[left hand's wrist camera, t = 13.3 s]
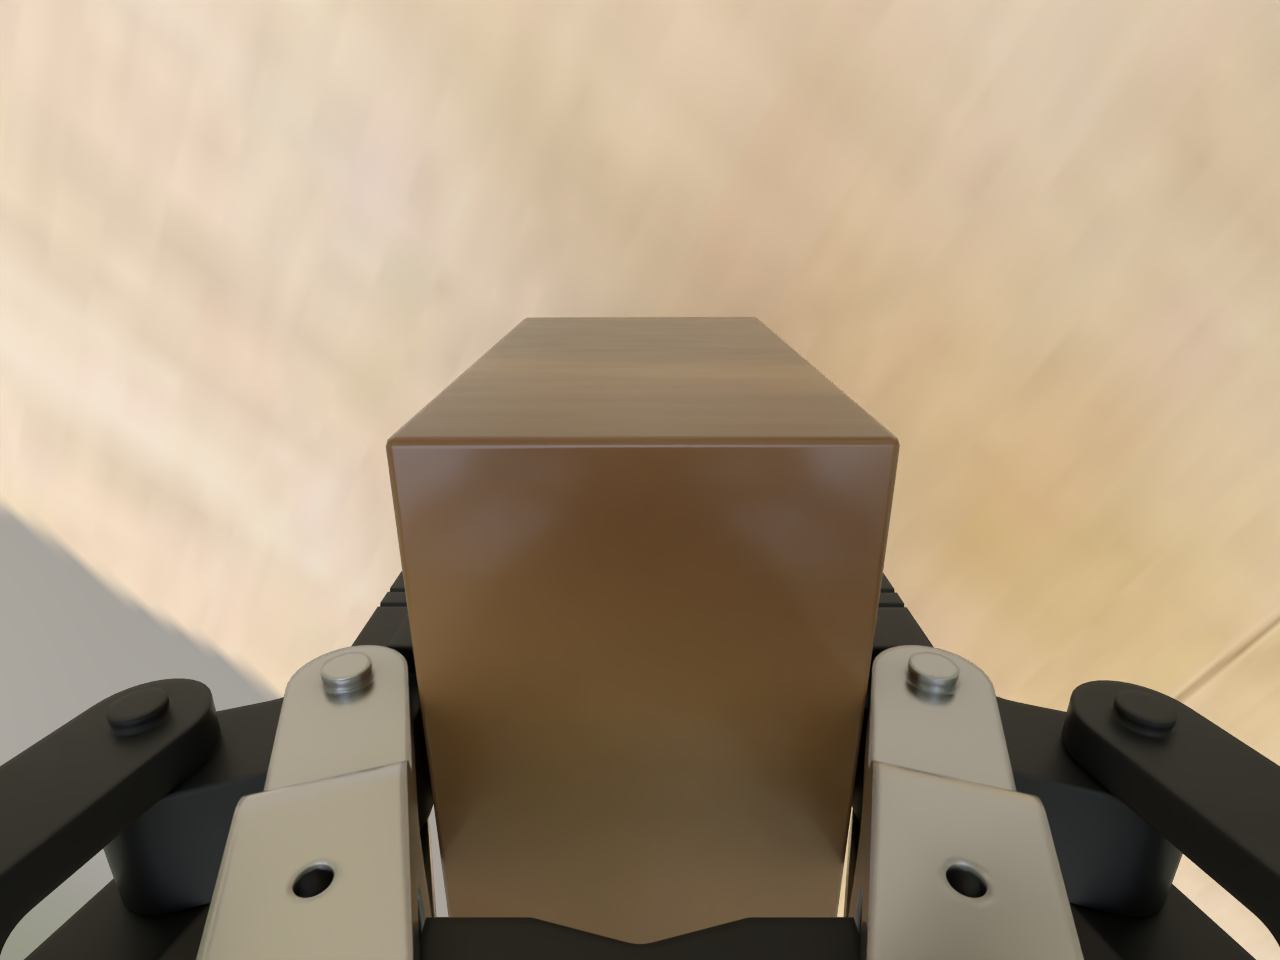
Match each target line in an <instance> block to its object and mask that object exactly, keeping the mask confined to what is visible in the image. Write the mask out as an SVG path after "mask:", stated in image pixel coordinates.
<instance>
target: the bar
mask: <svg viewBox="0 0 1280 960" xmlns="http://www.w3.org/2000/svg"><path fill="white" fill-rule="evenodd" d="M899 447H900V445H899V442H898V439H897V438H896V437H895V436H894V435H893V434H892V433H890V432H889V431H888V430H887V429H886V428H885V427H883V426H882V425H881V424H880V423H879V422H878V421H876V420H875V419H874V418H873V417H872V416H871V415H869V414H868V413H867V412H866V411H865V410H864V409H862V408H861V407H860V406H859V405H858V404H857V403H855V402H854V401H853V400H852V399H851V398H850V397H848V396H847V395H846V394H845V393H844V392H843V391H841V390H840V389H839V388H838V387H837V386H835V385H834V384H833V383H832V382H831V381H830V380H828V379H827V378H826V377H825V376H824V375H823V374H821V373H820V372H819V371H818V370H817V369H816V368H814V367H813V366H812V365H811V364H810V363H809V362H807V361H806V360H805V359H804V358H803V357H802V356H800V355H799V354H798V353H797V352H796V351H795V350H793V349H792V348H791V347H790V346H789V345H788V344H786V343H785V342H784V341H783V340H782V339H781V338H779V337H778V336H777V335H776V334H775V333H774V332H772V331H771V330H770V329H769V328H768V327H766V326H765V325H764V324H763V323H762V322H761V321H759V320H758V319H757V318H755V317H665V318H526V319H524V320H523V321H522V322H521V323H520V324H518V325H517V326H516V327H515V328H514V329H513V330H512V331H510V332H509V333H508V334H507V335H506V336H505V337H504V338H503V339H501V340H500V341H499V342H498V343H497V344H496V345H495V346H493V347H492V348H491V349H490V350H489V351H488V352H487V353H486V354H484V355H483V356H482V357H481V358H480V359H479V360H478V361H476V362H475V363H474V364H473V365H472V366H471V367H470V368H468V369H467V370H466V371H465V372H464V373H463V374H462V375H461V376H459V377H458V378H457V379H456V380H455V381H454V382H453V383H451V384H450V385H449V386H448V387H447V388H446V389H445V390H444V391H442V392H441V393H440V394H439V395H438V396H437V397H436V398H434V399H433V400H432V401H431V402H430V403H429V404H428V405H426V406H425V407H424V408H423V409H422V410H421V411H420V412H419V413H417V414H416V415H415V416H414V417H413V418H412V419H411V420H409V421H408V422H407V423H406V424H405V425H404V426H403V427H402V428H400V429H399V430H398V431H397V432H396V433H395V434H394V435H392V436H391V437H390V438H389V439H388V441H387V444H386V451H387V459H388V466H389V474H390V481H391V489H392V496H393V504H394V511H395V519H396V526H397V534H398V541H399V549H400V556H401V564H402V571H403V578H404V586H405V593H406V601H407V608H408V616H409V623H410V631H411V638H412V646H413V653H414V661H415V668H416V676H417V683H418V691H419V698H420V706H421V713H422V721H423V728H424V736H425V743H426V750H427V758H428V765H429V773H430V780H431V788H432V795H433V803H434V810H435V818H436V825H437V832H438V840H439V847H440V855H441V863H442V870H443V878H444V885H445V893H446V900H447V907H448V915H449V917H532V918H536V919H540V920H543V921H547V922H551V923H555V924H559V925H563V926H567V927H570V928H574V929H578V930H582V931H586V932H590V933H593V934H597V935H601V936H605V937H609V938H613V939H617V940H620V941H624V942H628V943H634V944H646V943H652V942H656V941H660V940H663V939H667V938H671V937H675V936H679V935H683V934H687V933H690V932H694V931H698V930H702V929H706V928H710V927H713V926H717V925H721V924H725V923H729V922H733V921H737V920H740V919H744V918H748V917H837V912H838V905H839V897H840V890H841V882H842V875H843V867H844V860H845V852H846V845H847V837H848V830H849V822H850V815H851V807H852V800H853V792H854V785H855V777H856V770H857V762H858V755H859V747H860V740H861V732H862V725H863V717H864V710H865V702H866V695H867V687H868V680H869V672H870V665H871V657H872V650H873V642H874V635H875V627H876V619H877V612H878V604H879V597H880V589H881V582H882V574H883V567H884V559H885V552H886V544H887V537H888V529H889V522H890V514H891V507H892V499H893V492H894V484H895V477H896V469H897V462H898V454H899Z"/></svg>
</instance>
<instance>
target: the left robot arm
mask: <svg viewBox="0 0 1280 960" xmlns="http://www.w3.org/2000/svg"><path fill="white" fill-rule="evenodd" d="M433 804H434V803H433V795H432V788H431V780H430V773H429V765H428V758H427V750H426V743H425V736H424V728H423V721H422V713H421V706H420V698H419V691H418V683H417V676H416V668H415V661H414V653H413V646H412V638H411V631H410V623H409V616H408V608H407V601H406V593H405V586H404V578H403V571H402V572H401V573H400V575H399V576H398V578H397V579H396V581H395V582H394V584H393V585H392V586H391V588H390V592H387V594H386V595H385V597H384V598H383V600H382V601H381V605H380V607H377V609H376V610H375V612H374V613H373V615H372V616H371V618H370V619H369V621H368V622H367V624H366V625H365V627H364V628H363V630H362V631H361V633H360V634H359V636H358V637H357V639H356V640H355V642H354V643H353V645H352V646H351V647H347V648H342V649H338V650H335V651H332V652H329V653H327V654H324V655H321V656H319V657H318V658H316V659H314V660H312V661H310V662H309V663H307V664H305V665H304V666H303V667H302V668H300V669H299V670H298V671H297V672H296V673H295V674H294V675H293V676H292V677H291V679H290V680H289V682H288V684H287V687H286V690H285V695H284V697H283V698H280V699H276V700H272V701H267V702H262V703H257V704H253V705H247V706H242V707H237V708H232V709H227V710H222V711H217V712H216V709H215V705H214V701H213V697H212V694H211V691H210V689H209V688H208V687H207V686H206V685H205V684H203V683H201V682H199V681H195V680H191V679H165V680H158V681H153V682H149V683H145V684H141V685H138V686H135V687H132V688H129V689H126V690H124V691H121V692H119V693H116V694H114V695H112V696H110V697H108V698H106V699H104V700H102V701H101V702H99V703H97V704H96V705H94V706H92V707H91V708H89V709H88V710H86V711H85V712H83V713H82V714H80V715H78V716H77V717H75V718H74V719H72V720H71V721H69V722H68V723H66V724H65V725H63V726H62V727H60V728H59V729H57V730H55V731H54V732H52V733H51V734H49V735H48V736H46V737H45V738H43V739H42V740H40V741H39V742H37V743H36V744H34V745H32V746H31V747H29V748H28V749H26V750H25V751H23V752H22V753H20V754H19V755H17V756H16V757H14V758H12V759H11V760H9V761H8V762H6V763H5V764H3V765H2V766H0V954H1V951H2V948H3V946H4V944H5V942H6V940H7V938H8V937H9V935H10V933H11V932H12V930H13V929H14V928H15V926H16V925H17V924H18V922H19V921H20V920H21V919H22V918H23V917H24V916H25V915H26V914H27V913H28V912H29V911H30V910H31V909H32V908H34V907H35V906H36V905H37V904H38V903H39V902H40V901H42V900H43V899H44V898H45V897H46V896H48V895H49V894H50V893H51V892H52V891H53V890H55V889H56V888H57V887H58V886H59V885H61V884H62V883H63V882H64V881H65V880H66V879H68V878H69V877H70V876H71V875H72V874H74V873H75V872H76V871H77V870H78V869H79V868H81V867H82V866H83V865H84V864H85V863H86V862H88V861H89V860H90V859H91V858H92V857H93V856H95V855H96V854H97V853H98V852H99V851H100V850H102V849H104V851H105V854H106V857H107V860H108V863H109V866H110V868H111V871H112V874H113V877H114V879H113V880H112V881H110V882H109V883H108V884H107V885H106V886H105V887H104V888H103V889H102V890H101V891H99V892H98V893H97V894H96V895H95V896H94V897H93V898H92V899H91V900H89V901H88V902H87V903H86V904H85V905H84V906H83V907H82V908H81V909H80V910H78V911H77V912H76V913H75V914H74V915H73V916H72V917H71V918H70V919H69V920H67V921H66V922H65V923H64V924H63V925H62V926H61V927H60V928H59V929H57V930H56V931H55V932H54V933H53V934H52V935H51V936H50V937H49V938H47V939H46V940H45V941H44V942H43V943H42V944H41V945H40V946H39V947H38V948H36V949H35V950H34V951H33V952H32V953H31V954H30V955H29V956H28V957H26V958H25V959H24V960H1256V959H1255V958H1254V957H1252V956H1251V955H1250V954H1249V953H1248V952H1247V951H1246V950H1245V949H1244V948H1243V947H1241V946H1240V945H1239V944H1238V943H1237V942H1236V941H1235V940H1234V939H1233V938H1231V937H1230V936H1229V935H1228V934H1227V933H1226V932H1225V931H1224V930H1223V929H1222V928H1220V927H1219V926H1218V925H1217V924H1216V923H1215V922H1214V921H1213V920H1212V919H1210V918H1209V917H1208V916H1207V915H1206V914H1205V913H1204V912H1203V911H1202V910H1200V909H1199V908H1198V907H1197V906H1196V905H1195V904H1194V903H1193V902H1192V901H1191V900H1189V899H1188V898H1187V897H1186V896H1185V895H1184V894H1183V893H1182V892H1181V891H1179V890H1178V889H1177V888H1176V887H1175V886H1174V885H1173V884H1172V882H1173V879H1174V876H1175V873H1176V871H1177V868H1178V865H1179V862H1180V859H1181V857H1182V854H1184V855H1185V856H1187V857H1188V858H1189V859H1190V860H1191V861H1192V862H1194V863H1195V864H1196V865H1197V866H1198V867H1199V868H1201V869H1202V870H1203V871H1204V872H1205V873H1206V874H1208V875H1209V876H1210V877H1211V878H1212V879H1214V880H1215V881H1216V882H1217V883H1218V884H1219V885H1221V886H1222V887H1223V888H1224V889H1225V890H1226V891H1228V892H1229V893H1230V894H1231V895H1232V896H1234V897H1235V898H1236V899H1237V900H1238V901H1239V902H1241V903H1242V904H1243V905H1244V906H1245V907H1246V908H1248V909H1249V910H1250V911H1251V912H1252V913H1253V914H1255V915H1256V916H1257V917H1258V918H1259V919H1260V920H1261V921H1262V922H1263V923H1264V925H1265V926H1266V927H1267V928H1268V929H1269V931H1270V932H1271V933H1272V935H1273V936H1274V938H1275V939H1276V941H1277V943H1278V944H1279V946H1280V766H1278V765H1277V764H1275V763H1274V762H1272V761H1271V760H1269V759H1268V758H1266V757H1265V756H1263V755H1261V754H1260V753H1258V752H1257V751H1255V750H1254V749H1252V748H1251V747H1249V746H1248V745H1246V744H1245V743H1243V742H1241V741H1240V740H1238V739H1237V738H1235V737H1234V736H1232V735H1231V734H1229V733H1228V732H1226V731H1225V730H1223V729H1222V728H1220V727H1218V726H1217V725H1215V724H1214V723H1212V722H1211V721H1209V720H1208V719H1206V718H1205V717H1203V716H1202V715H1200V714H1198V713H1197V712H1195V711H1194V710H1192V709H1191V708H1189V707H1187V706H1186V705H1184V704H1182V703H1181V702H1179V701H1177V700H1175V699H1173V698H1171V697H1169V696H1167V695H1164V694H1162V693H1160V692H1157V691H1155V690H1152V689H1149V688H1146V687H1142V686H1138V685H1135V684H1130V683H1125V682H1119V681H1091V682H1087V683H1084V684H1081V685H1080V686H1078V687H1076V689H1075V690H1074V691H1073V692H1072V695H1071V698H1070V702H1069V706H1068V710H1067V712H1063V711H1058V710H1053V709H1048V708H1043V707H1038V706H1033V705H1028V704H1023V703H1018V702H1014V701H1010V700H1006V699H1003V698H1000V697H997V696H996V695H995V690H994V687H993V684H992V682H991V680H990V679H989V677H988V676H987V675H986V674H985V673H984V672H983V671H982V670H981V669H980V668H978V667H977V666H976V665H975V664H973V663H971V662H970V661H968V660H966V659H964V658H962V657H960V656H959V655H956V654H953V653H951V652H948V651H945V650H942V649H938V648H934V647H933V645H932V644H931V643H930V641H929V640H928V638H927V637H926V635H925V634H924V632H923V631H922V629H921V628H920V626H919V625H918V623H917V622H916V620H915V619H914V618H913V616H912V615H911V613H910V612H909V610H908V609H907V607H904V603H903V601H902V600H901V598H900V597H899V596H898V594H897V593H894V588H893V587H892V585H891V584H890V582H889V581H888V579H887V578H886V576H885V575H884V573H883V574H882V582H881V589H880V597H879V604H878V612H877V619H876V627H875V635H874V642H873V650H872V657H871V665H870V672H869V680H868V687H867V695H866V702H865V710H864V717H863V725H862V732H861V740H860V747H859V755H858V762H857V770H856V777H855V785H854V792H853V800H852V807H853V811H852V819H851V826H850V833H849V846H848V861H847V875H846V890H845V905H844V917H748V918H744V919H740V920H737V921H733V922H729V923H725V924H721V925H717V926H713V927H710V928H706V929H702V930H698V931H694V932H690V933H687V934H683V935H679V936H675V937H671V938H667V939H663V940H660V941H656V942H652V943H646V944H634V943H628V942H624V941H620V940H617V939H613V938H609V937H605V936H601V935H597V934H593V933H590V932H586V931H582V930H578V929H574V928H570V927H567V926H563V925H559V924H555V923H551V922H547V921H543V920H540V919H536V918H532V917H436V905H435V890H434V876H433V861H432V847H431V833H430V826H429V819H428V817H429V815H430V812H431V810H432V807H433Z"/></svg>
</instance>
